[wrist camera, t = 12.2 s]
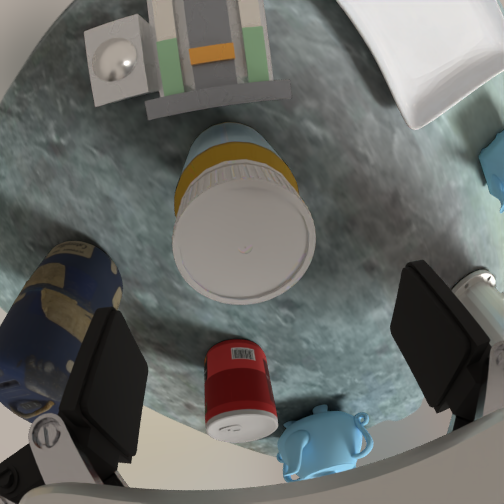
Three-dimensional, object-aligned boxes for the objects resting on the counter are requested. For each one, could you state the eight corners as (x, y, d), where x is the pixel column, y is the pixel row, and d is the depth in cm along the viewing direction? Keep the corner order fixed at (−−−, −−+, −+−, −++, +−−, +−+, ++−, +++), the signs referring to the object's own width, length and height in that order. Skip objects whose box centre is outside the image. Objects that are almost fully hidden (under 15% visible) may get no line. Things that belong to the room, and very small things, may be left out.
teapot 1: (343, 431, 57) (360, 484, 45) (257, 441, 54) (266, 501, 42) (372, 392, 49) (398, 454, 37) (270, 403, 46) (285, 479, 34)
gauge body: (257, -20, 17) (268, -42, 13) (272, 93, 23) (286, 95, 18) (103, 10, 17) (79, -3, 12) (119, 120, 22) (98, 130, 18)
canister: (36, 242, 27) (-49, 369, 12) (108, 226, 27) (30, 378, 12) (70, 310, 32) (22, 439, 17) (138, 302, 32) (107, 452, 17)
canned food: (192, 351, 37) (191, 426, 28) (247, 328, 36) (259, 406, 27) (223, 380, 41) (228, 448, 32) (274, 360, 40) (289, 430, 30)
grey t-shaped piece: (256, -24, 16) (270, -56, 10) (272, 94, 22) (291, 98, 16) (148, -8, 16) (127, -35, 10) (165, 111, 21) (148, 120, 16)
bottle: (201, 206, 27) (192, 325, 15) (178, 133, 24) (136, 195, 11) (276, 187, 27) (331, 291, 15) (260, 112, 24) (315, 149, 11)
